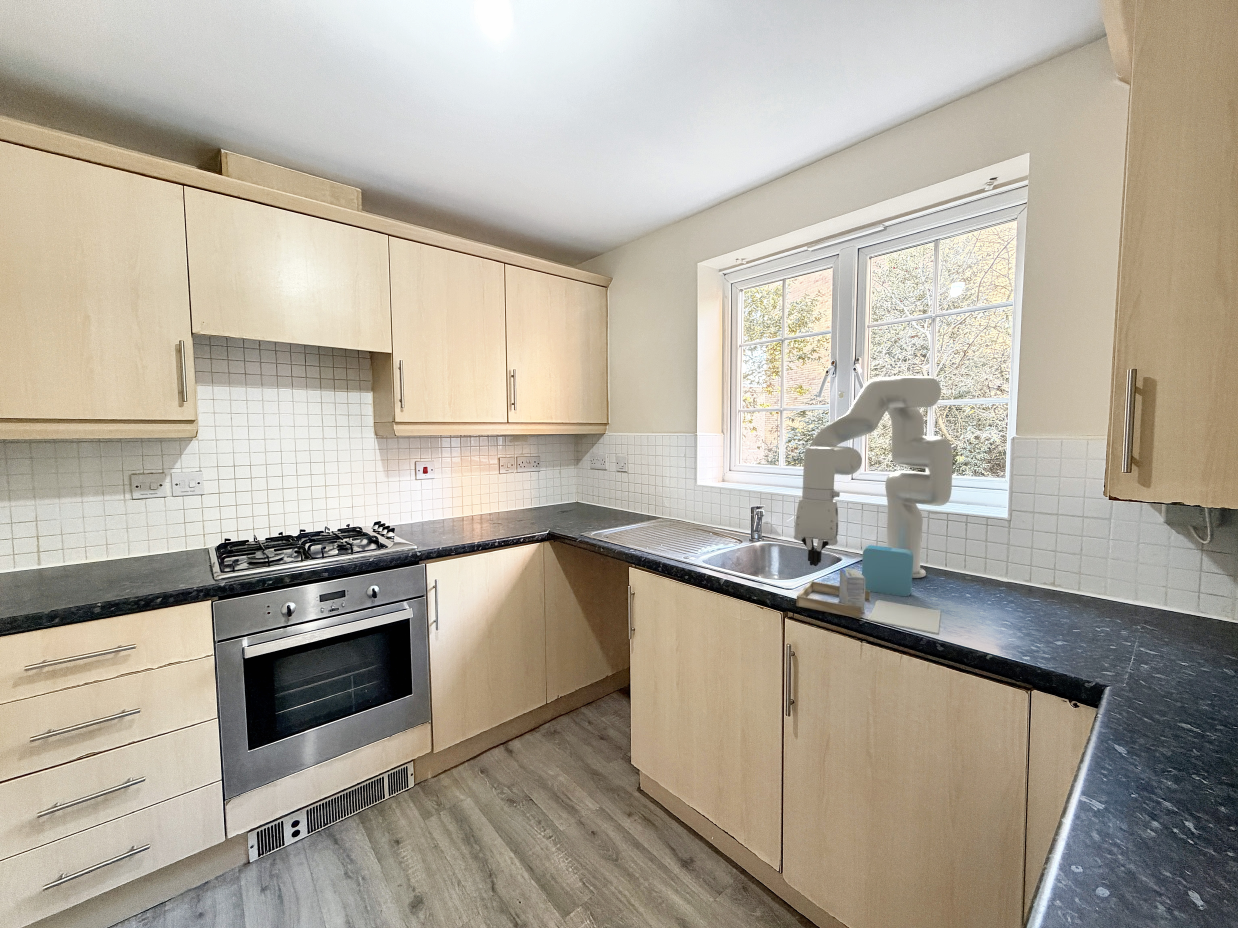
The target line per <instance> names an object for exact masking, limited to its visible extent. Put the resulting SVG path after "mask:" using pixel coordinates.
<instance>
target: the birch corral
mask: <svg viewBox="0 0 1238 928" xmlns="http://www.w3.org/2000/svg"><path fill="white" fill-rule="evenodd" d="M839 587H840V585H838V584H833V583H825V582H819V581H814V580H810V581H809V583H808V584H806V586H805V587H804V588H803V589H801V591H800V592H799V593H798V594H797V596H796V602H795V603H796V605H795V606H796V607H801V608H805V609H811V610H816V611H821V612H827V613H832V614H837V615H842V616H847V617H852V618H858V619H862V612H861V608H862V607H857V606H851V605H846V604H842V603H841V602H834V601H831V600H830V601H829V600H824V599H819V598H818V599H817V598H813V597H808V596H809V595H811V593H812V592H818V593H824V594H829V595H834V596H839ZM870 600H871V591H868V590H865V601H868V602H870Z"/></svg>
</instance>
